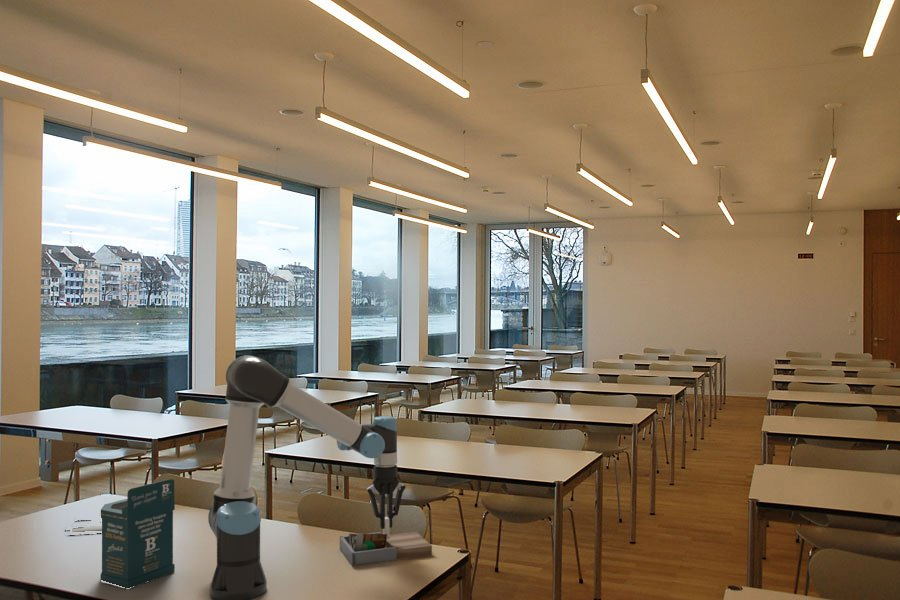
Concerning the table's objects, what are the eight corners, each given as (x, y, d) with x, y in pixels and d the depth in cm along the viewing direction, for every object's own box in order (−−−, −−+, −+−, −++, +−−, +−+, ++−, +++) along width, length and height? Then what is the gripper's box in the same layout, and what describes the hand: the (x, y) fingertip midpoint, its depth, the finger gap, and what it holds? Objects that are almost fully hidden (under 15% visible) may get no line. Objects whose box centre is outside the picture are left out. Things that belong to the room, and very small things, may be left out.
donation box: (127, 590, 204) (127, 489, 205) (91, 580, 212) (91, 483, 213) (174, 572, 219) (174, 478, 219) (138, 563, 226) (139, 472, 227)
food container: (377, 553, 240) (347, 553, 237) (378, 533, 242) (348, 533, 239) (387, 554, 229) (356, 554, 226) (388, 534, 231) (357, 534, 228)
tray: (396, 560, 227) (396, 547, 227) (352, 566, 222) (352, 553, 222) (381, 543, 244) (381, 531, 244) (339, 548, 239) (339, 536, 239)
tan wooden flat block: (431, 555, 233) (431, 545, 233) (395, 559, 228) (395, 550, 228) (416, 540, 247) (416, 531, 248) (381, 544, 243) (381, 535, 243)
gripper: (401, 460, 242) (402, 532, 241) (363, 464, 237) (363, 537, 237) (408, 465, 235) (409, 539, 234) (368, 468, 230) (369, 544, 230)
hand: (386, 538), depth 236 cm, fingers closed
